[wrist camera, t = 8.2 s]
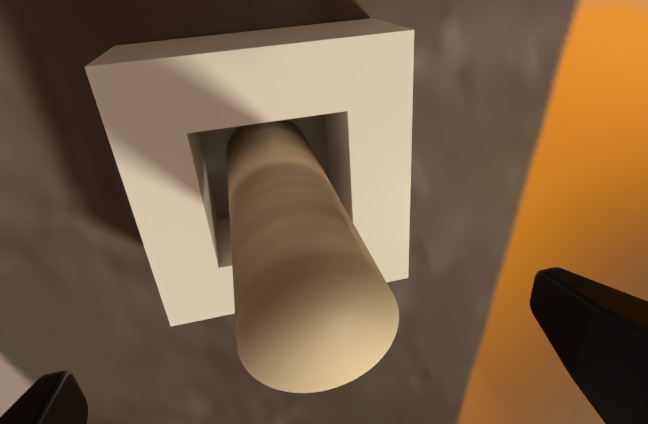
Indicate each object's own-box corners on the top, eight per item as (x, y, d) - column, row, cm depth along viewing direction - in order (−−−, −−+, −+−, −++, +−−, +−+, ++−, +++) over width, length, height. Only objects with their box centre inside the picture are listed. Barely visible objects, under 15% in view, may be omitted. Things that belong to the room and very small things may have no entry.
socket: (375, 227, 20) (408, 277, 17) (178, 263, 19) (170, 326, 16) (371, 18, 16) (414, 29, 13) (115, 45, 15) (84, 66, 11)
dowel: (311, 185, 18) (398, 372, 9) (234, 198, 18) (251, 408, 9) (304, 109, 17) (399, 250, 8) (218, 121, 16) (221, 284, 7)
